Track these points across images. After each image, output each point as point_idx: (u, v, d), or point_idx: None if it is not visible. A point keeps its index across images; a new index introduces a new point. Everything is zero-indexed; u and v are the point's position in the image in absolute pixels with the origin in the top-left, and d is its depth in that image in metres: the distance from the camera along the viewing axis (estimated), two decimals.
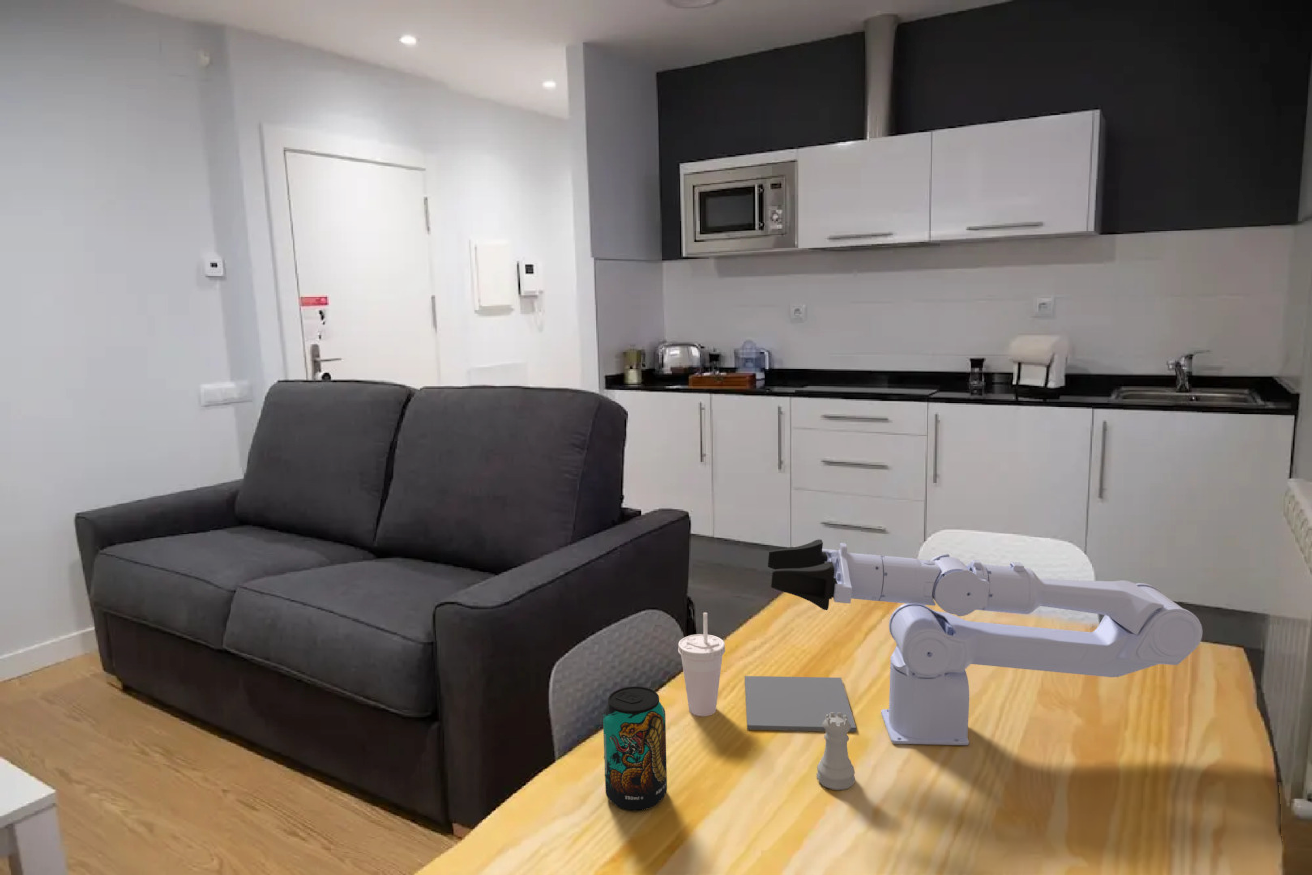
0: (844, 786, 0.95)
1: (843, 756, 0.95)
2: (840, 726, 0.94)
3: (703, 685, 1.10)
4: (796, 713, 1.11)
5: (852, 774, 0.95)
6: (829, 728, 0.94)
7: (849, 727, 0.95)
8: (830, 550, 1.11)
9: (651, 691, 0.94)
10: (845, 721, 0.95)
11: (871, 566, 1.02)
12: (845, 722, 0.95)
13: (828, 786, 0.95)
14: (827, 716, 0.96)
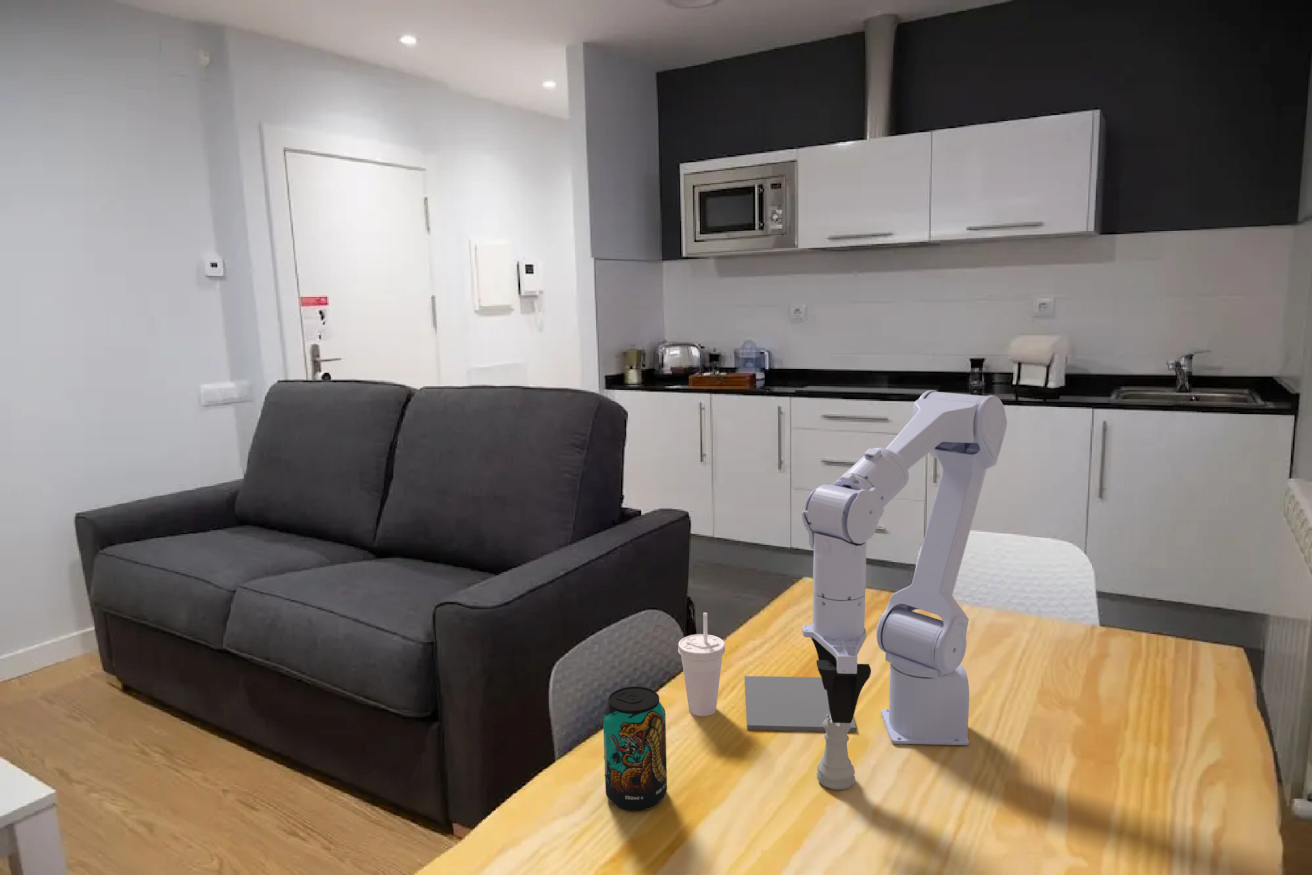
0: (844, 786, 0.95)
1: (843, 756, 0.95)
2: (840, 726, 0.94)
3: (703, 685, 1.10)
4: (796, 713, 1.11)
5: (852, 774, 0.95)
6: (829, 728, 0.94)
7: (849, 727, 0.95)
8: None
9: (651, 691, 0.94)
10: None
11: (821, 609, 0.91)
12: None
13: (828, 786, 0.95)
14: (827, 716, 0.96)
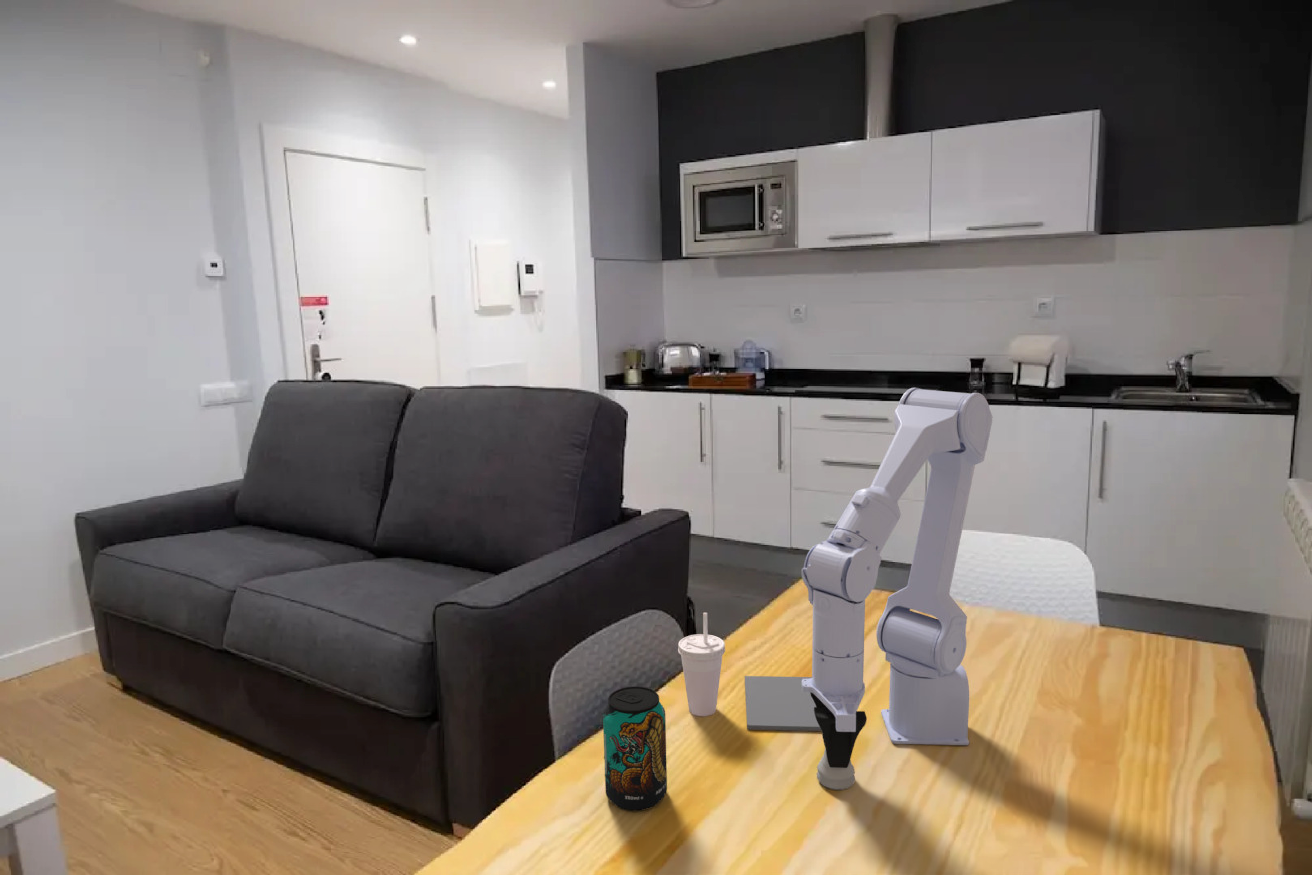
0: (844, 786, 0.95)
1: None
2: None
3: (703, 685, 1.10)
4: (796, 713, 1.11)
5: (852, 774, 0.95)
6: None
7: None
8: None
9: (651, 691, 0.94)
10: None
11: (820, 665, 0.92)
12: None
13: (828, 786, 0.95)
14: None
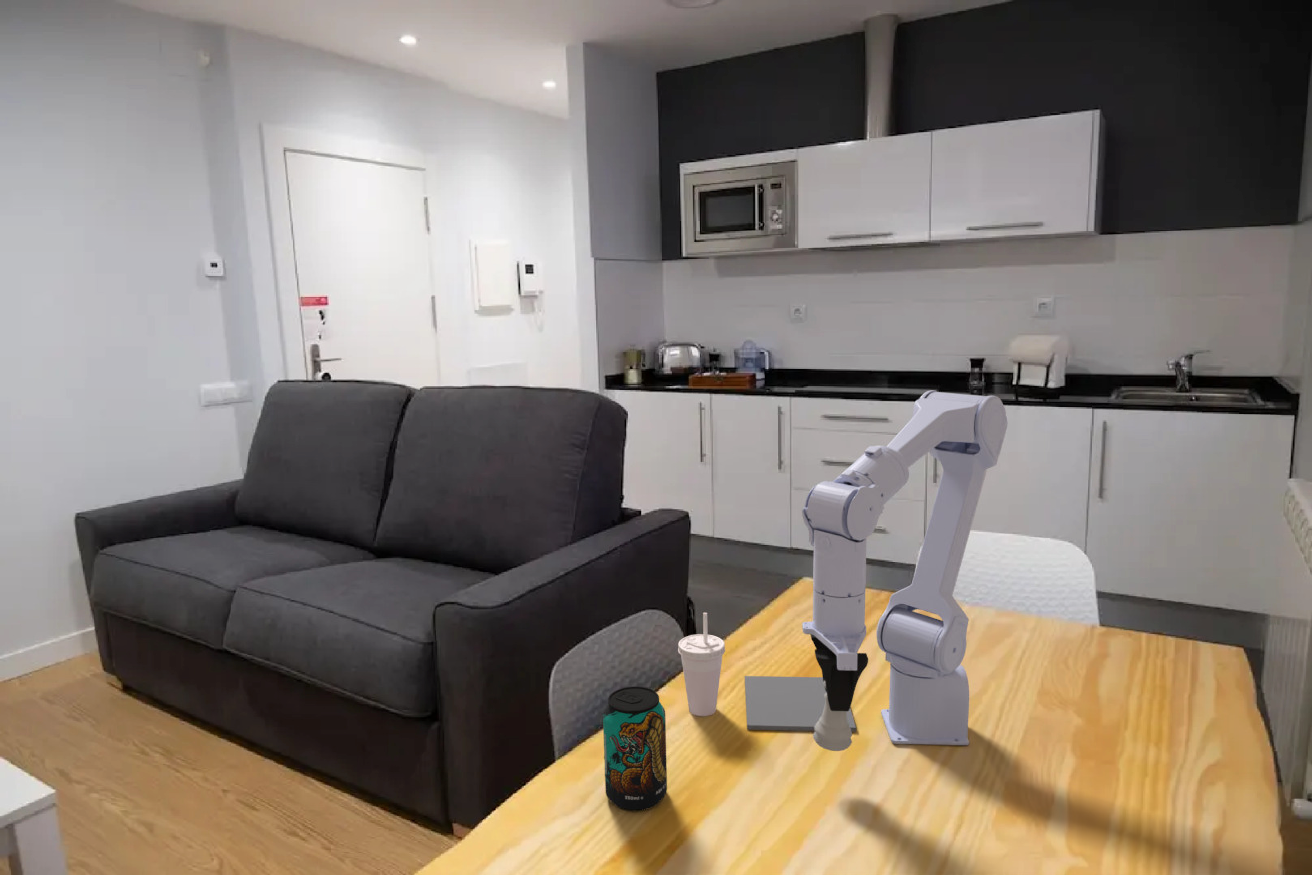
0: (841, 747, 0.94)
1: (842, 716, 0.94)
2: None
3: (703, 685, 1.10)
4: (796, 713, 1.11)
5: (850, 735, 0.94)
6: None
7: None
8: None
9: (651, 691, 0.94)
10: None
11: (821, 605, 0.91)
12: None
13: (825, 746, 0.94)
14: None
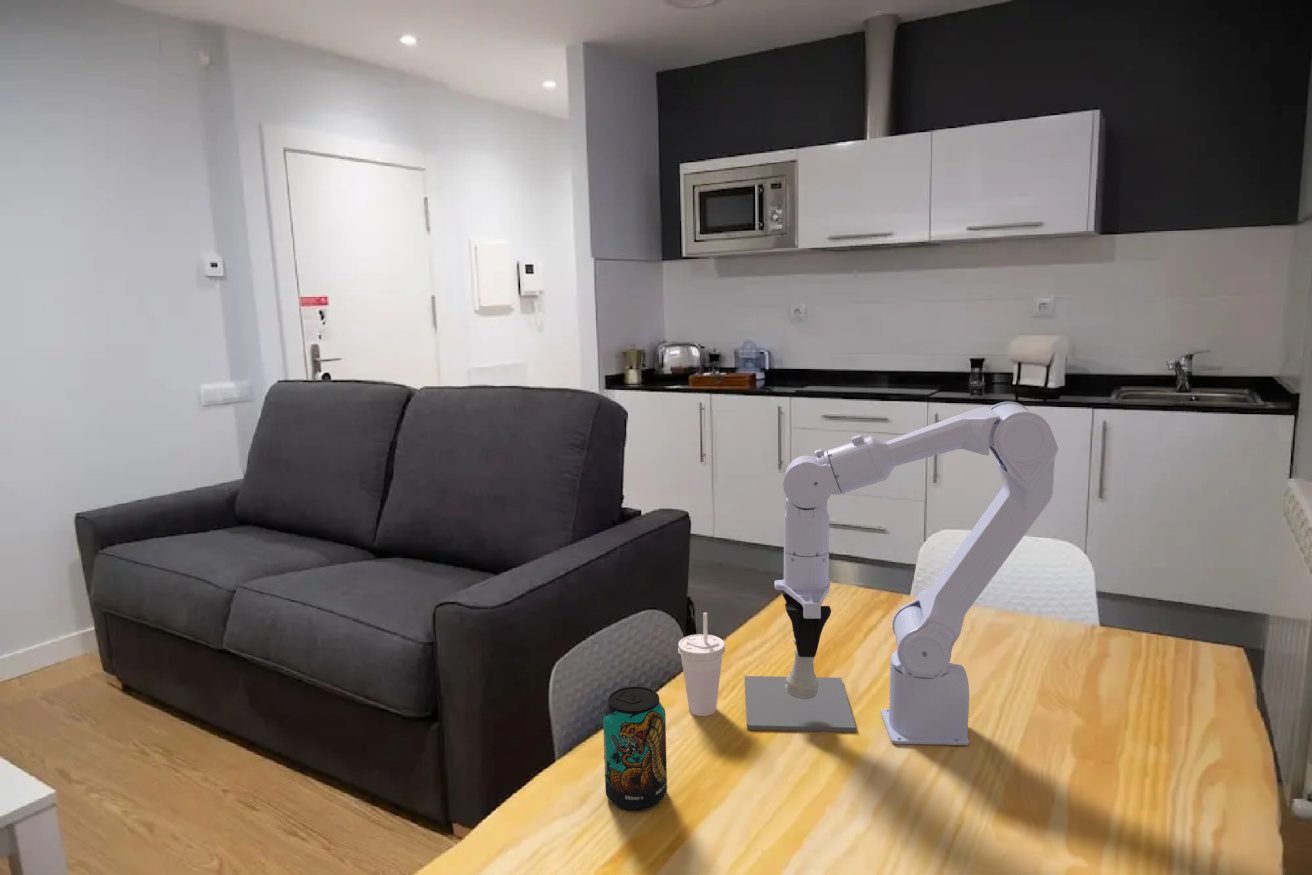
0: (809, 695, 1.08)
1: (809, 669, 1.08)
2: None
3: (703, 685, 1.10)
4: (796, 713, 1.11)
5: (816, 686, 1.08)
6: None
7: None
8: None
9: (651, 691, 0.94)
10: None
11: (791, 564, 1.05)
12: None
13: (795, 695, 1.08)
14: None
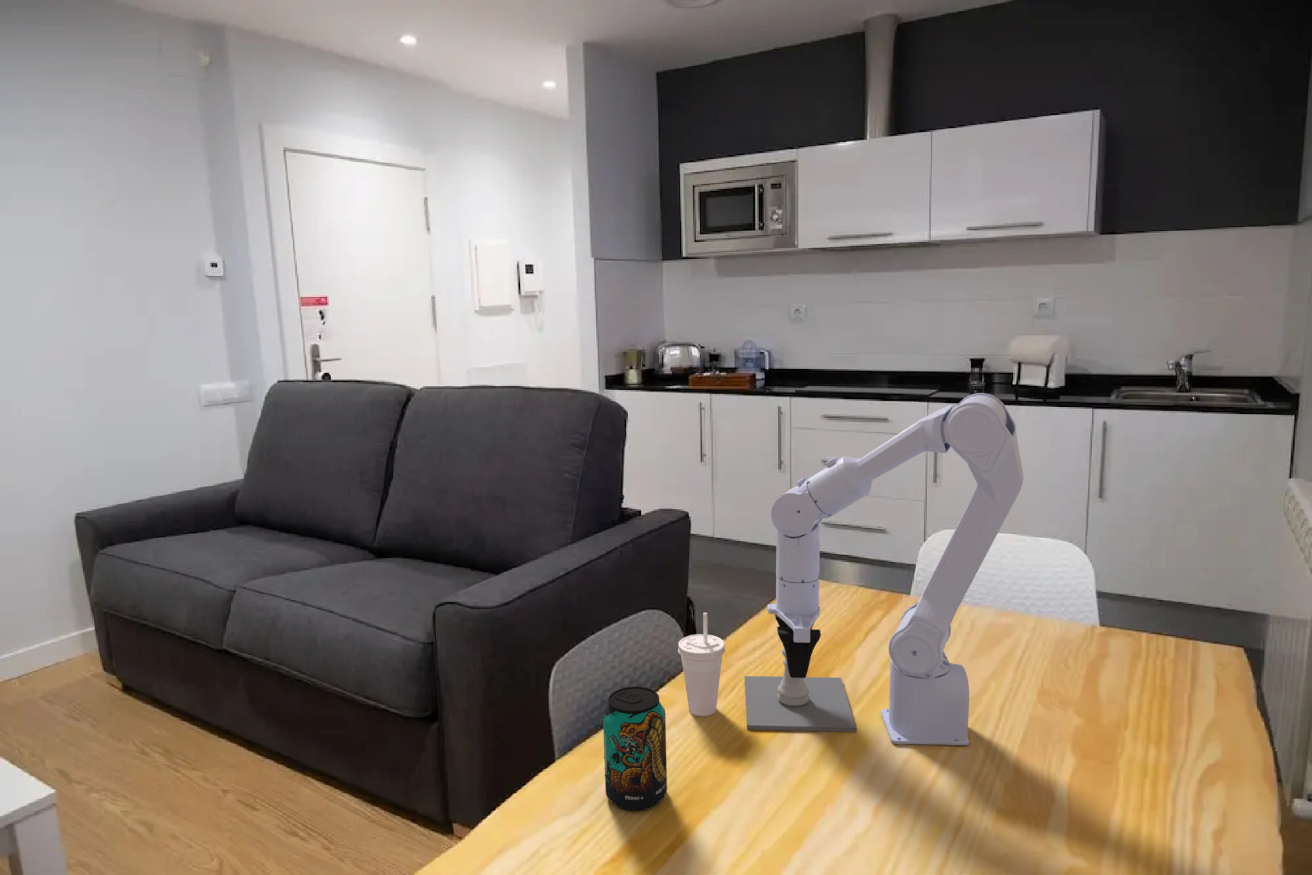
0: (800, 703, 1.12)
1: (799, 678, 1.13)
2: None
3: (703, 685, 1.10)
4: (796, 713, 1.11)
5: (806, 693, 1.13)
6: None
7: None
8: None
9: (651, 691, 0.94)
10: None
11: (782, 590, 1.10)
12: None
13: (786, 703, 1.13)
14: None
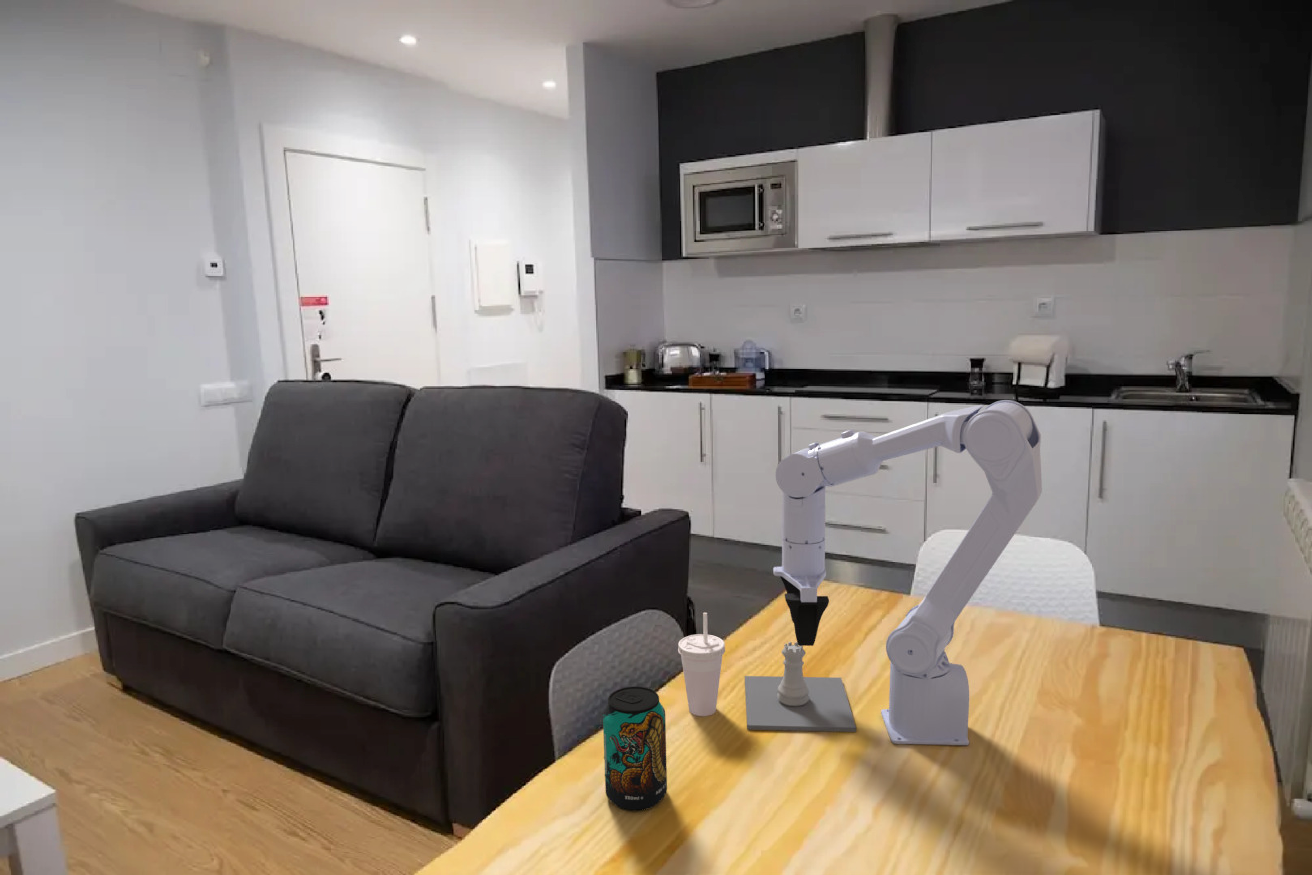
0: (800, 703, 1.12)
1: (799, 678, 1.13)
2: (796, 652, 1.12)
3: (703, 685, 1.10)
4: (796, 713, 1.11)
5: (806, 693, 1.13)
6: (787, 654, 1.12)
7: (804, 653, 1.12)
8: None
9: (651, 691, 0.94)
10: (800, 648, 1.12)
11: (788, 551, 1.10)
12: (800, 649, 1.12)
13: (786, 703, 1.13)
14: (785, 645, 1.13)
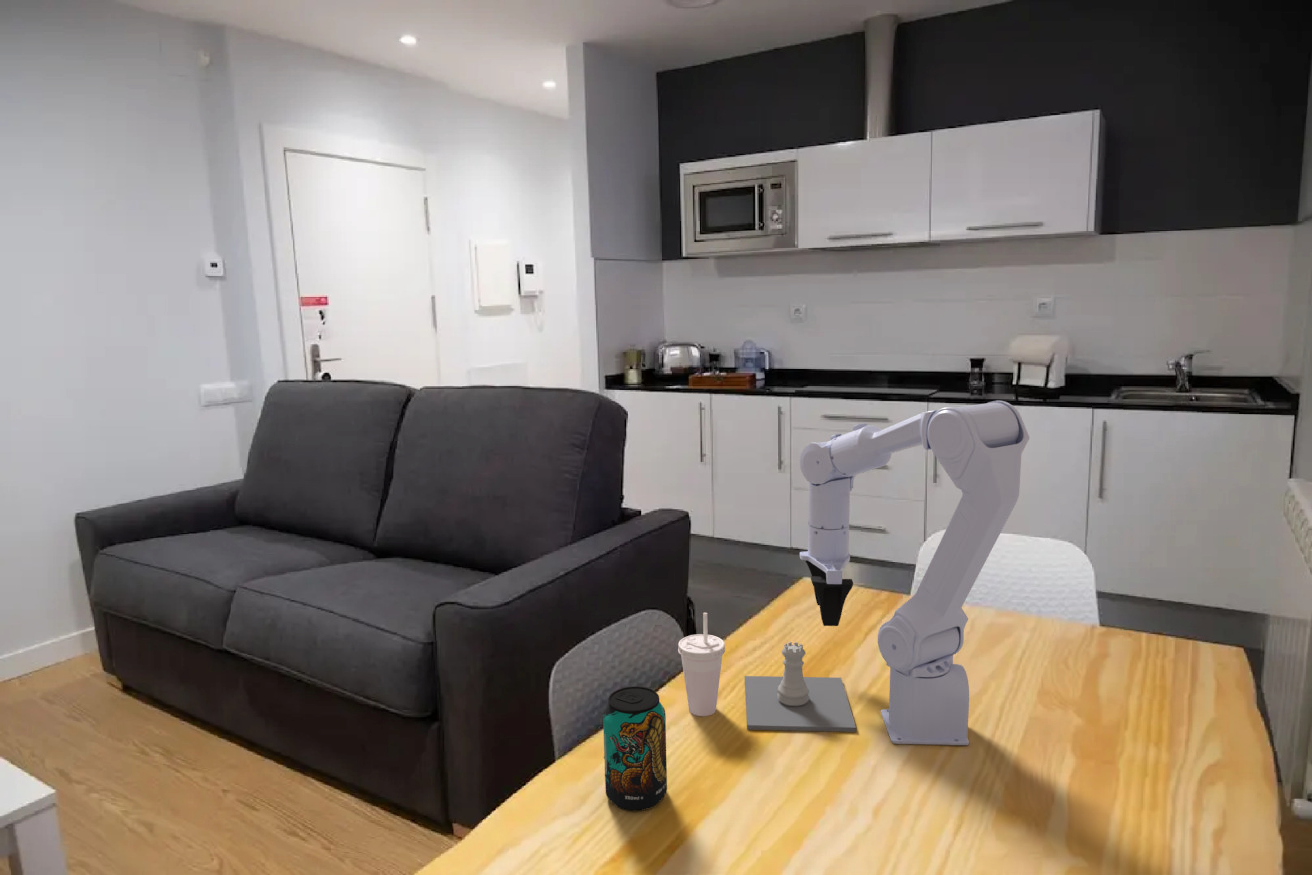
0: (800, 703, 1.12)
1: (799, 678, 1.13)
2: (796, 652, 1.12)
3: (703, 685, 1.10)
4: (796, 713, 1.11)
5: (806, 693, 1.13)
6: (787, 654, 1.12)
7: (804, 653, 1.12)
8: None
9: (651, 691, 0.94)
10: (800, 648, 1.12)
11: (814, 537, 1.16)
12: (800, 649, 1.12)
13: (786, 703, 1.13)
14: (785, 645, 1.13)
